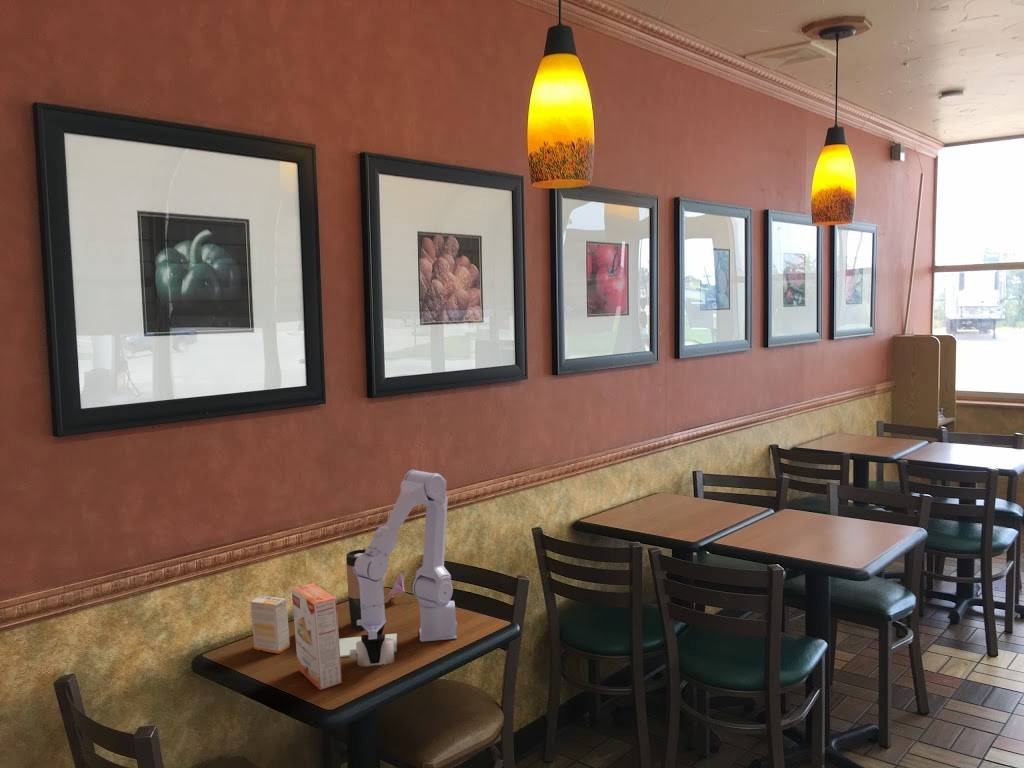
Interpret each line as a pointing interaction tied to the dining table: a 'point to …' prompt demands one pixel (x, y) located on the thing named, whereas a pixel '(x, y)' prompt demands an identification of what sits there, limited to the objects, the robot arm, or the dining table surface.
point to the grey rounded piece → (362, 654)
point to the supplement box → (270, 624)
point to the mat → (350, 643)
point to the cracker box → (317, 635)
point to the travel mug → (354, 588)
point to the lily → (398, 586)
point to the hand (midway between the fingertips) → (375, 656)
